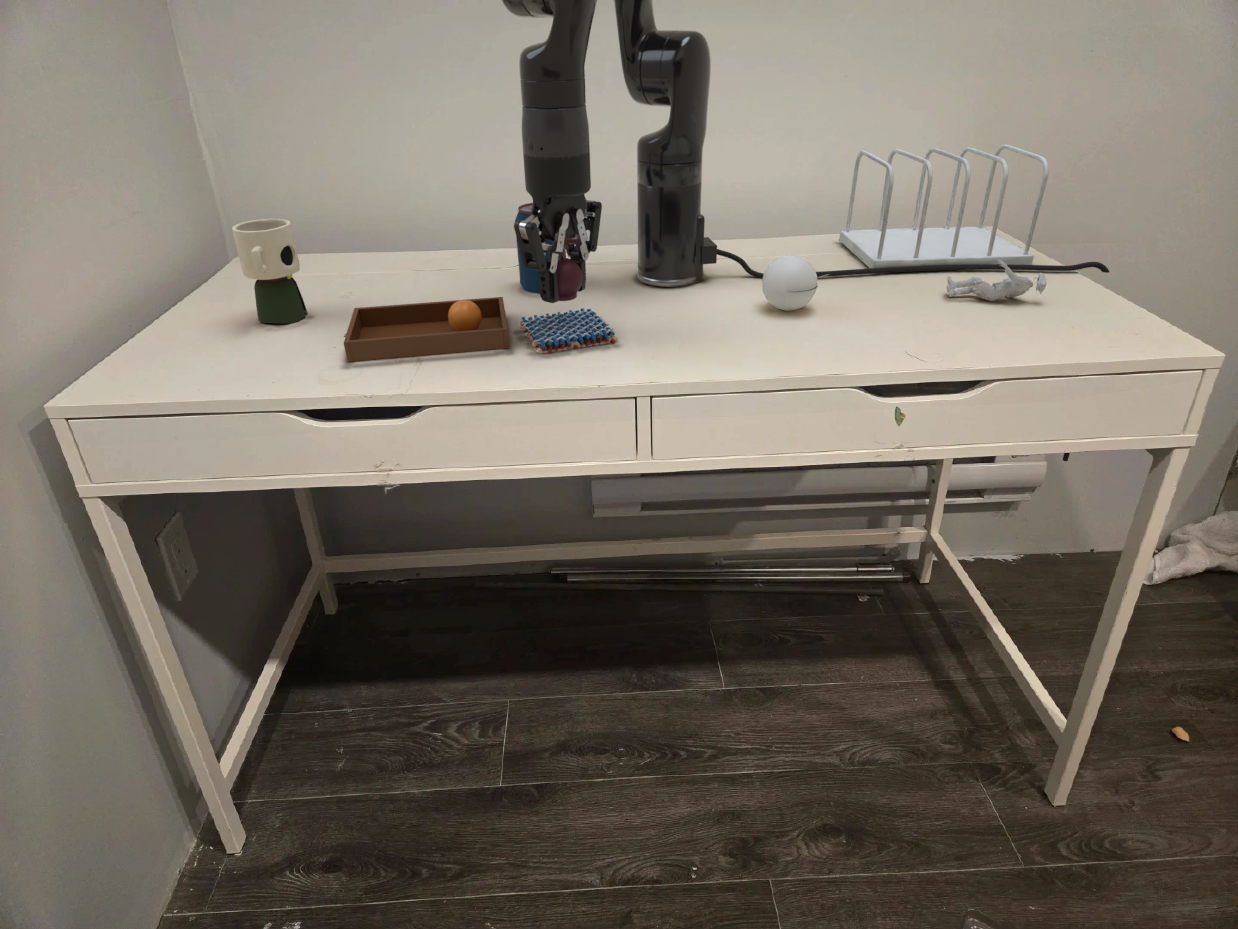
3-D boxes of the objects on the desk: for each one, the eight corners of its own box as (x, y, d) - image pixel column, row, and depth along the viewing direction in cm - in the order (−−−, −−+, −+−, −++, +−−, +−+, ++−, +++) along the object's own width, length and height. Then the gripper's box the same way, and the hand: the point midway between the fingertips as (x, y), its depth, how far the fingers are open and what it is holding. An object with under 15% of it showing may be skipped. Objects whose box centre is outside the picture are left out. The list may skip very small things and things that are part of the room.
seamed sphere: (773, 321, 107) (777, 266, 103) (751, 303, 113) (755, 250, 109) (842, 313, 109) (849, 259, 105) (818, 296, 115) (823, 244, 111)
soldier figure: (944, 295, 117) (1034, 271, 114) (953, 325, 115) (1044, 301, 112) (946, 269, 110) (1042, 243, 107) (956, 301, 108) (1053, 275, 105)
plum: (580, 289, 102) (578, 245, 99) (586, 301, 98) (584, 255, 95) (542, 292, 102) (539, 247, 99) (546, 304, 97) (543, 258, 95)
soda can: (576, 291, 119) (571, 207, 112) (533, 300, 116) (526, 215, 109) (554, 279, 124) (549, 198, 118) (513, 287, 121) (505, 205, 115)
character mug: (303, 334, 106) (280, 234, 99) (246, 337, 105) (219, 237, 99) (318, 306, 115) (298, 213, 109) (267, 309, 115) (243, 215, 108)
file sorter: (872, 273, 123) (887, 165, 115) (837, 242, 138) (849, 145, 130) (1032, 266, 124) (1058, 159, 116) (981, 237, 139) (1000, 140, 131)
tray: (504, 318, 109) (502, 296, 108) (510, 352, 99) (507, 328, 98) (358, 330, 107) (354, 307, 105) (348, 366, 96) (343, 342, 95)
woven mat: (592, 319, 109) (592, 304, 108) (620, 347, 100) (620, 331, 99) (517, 330, 106) (515, 315, 105) (538, 360, 97) (537, 344, 96)
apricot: (482, 325, 106) (479, 294, 104) (483, 337, 102) (480, 305, 100) (450, 328, 105) (446, 296, 103) (450, 339, 102) (445, 307, 100)
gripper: (541, 161, 84) (550, 318, 93) (620, 142, 94) (622, 285, 103) (488, 155, 88) (502, 306, 97) (569, 137, 98) (575, 275, 107)
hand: (563, 294), depth 100 cm, fingers closed on plum, 4 cm apart
